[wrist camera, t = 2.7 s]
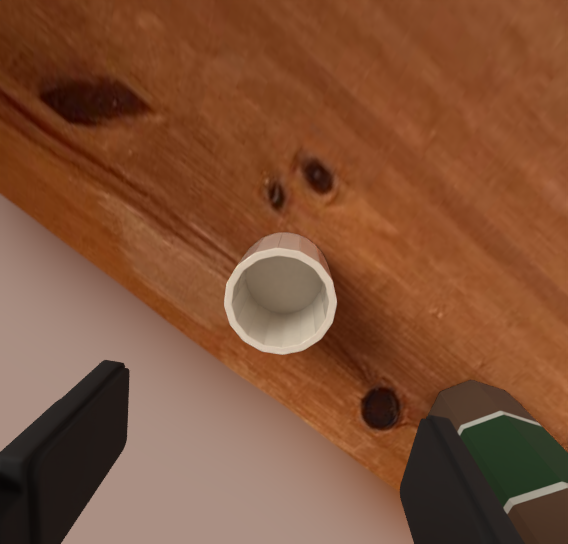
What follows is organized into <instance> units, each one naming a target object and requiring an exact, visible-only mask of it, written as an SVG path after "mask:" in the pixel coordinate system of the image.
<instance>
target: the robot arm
mask: <svg viewBox="0 0 568 544" xmlns="http://www.w3.org/2000/svg"><path fill="white" fill-rule="evenodd" d="M128 397H129V369H128V368H125V365H124V363H121V362H115V361H109V360H104V361H102V362H101V363H100V364H99V365H98V366H97V367H96V368H95V369H94V370H92V372H90V373H89V374H88V375H87V376H86V377H85V378H83V379H82V380H81V381H80V382H79V383H78V384H77V385H76V386H75V387H74V388H72V389H71V390H70V391H69V392H68V393H67V394H66V395H65V396H64V397H63V398H62V399H60V400H58V401H57V402H55V403H54V404H53V405H52V406H51V407H50V408H49V409H48V410H46V411H45V412H44V413H43V414H42V415H41V416H40V417H39V418H38V419H37V420H35V421H34V422H33V423H32V424H31V425H30V426H29V427H28V428H27V429H25V430H24V431H23V432H22V433H21V434H20V435H19V436H18V437H16V438H15V439H14V440H13V441H12V442H11V443H10V444H9V445H8V446H6V448H4V449H3V450H2V451H1V452H0V544H61V542H62V541H63V539H64V538H65V536H66V535H67V533H68V532H69V530H70V529H71V527H72V526H73V524H74V523H75V521H76V520H77V518H78V517H79V515H80V514H81V512H82V511H83V509H84V508H85V506H86V505H87V503H88V502H89V500H90V499H91V497H92V496H93V494H94V493H95V491H96V490H97V488H98V487H99V485H100V484H101V482H102V481H103V479H104V478H105V476H106V475H107V473H108V472H109V470H110V469H111V467H112V466H113V464H114V463H115V461H116V460H117V458H118V457H119V455H120V454H121V452H122V451H123V449H124V447H125V444H126V440H127V423H128ZM400 498H401V501H402V505H403V508H404V511H405V515H406V518H407V521H408V525H409V528H410V531H411V535H412V538H413V541H414V544H525V543H524V541H523V540H522V538H521V536H520V535H519V533H518V531H517V530H516V528H515V526H514V525H513V523H512V521H511V520H510V518H509V516H508V515H507V513H506V512H505V510H504V508H503V507H502V505H501V503H500V502H499V500H498V498H497V497H496V495H495V493H494V492H493V490H492V488H491V487H490V485H489V483H488V482H487V480H486V478H485V477H484V475H483V473H482V472H481V470H480V469H479V467H478V465H477V464H476V462H475V460H474V459H473V457H472V455H471V454H470V452H469V450H468V449H467V447H466V445H465V444H464V442H463V440H462V439H461V437H460V435H459V434H458V432H457V430H456V429H455V427H454V426H453V424H452V422H451V421H450V419H449V418H446V417H440V416H434V415H428V416H427V417H426V419H421V421H420V424H419V427H418V430H417V433H416V437H415V440H414V443H413V446H412V450H411V453H410V456H409V459H408V463H407V466H406V469H405V472H404V475H403V479H402V482H401V486H400Z"/></svg>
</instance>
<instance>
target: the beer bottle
mask: <svg viewBox="0 0 568 544" xmlns="http://www.w3.org/2000/svg"><path fill="white" fill-rule="evenodd" d="M428 415H434V416H440V417H446V418H449V419H450V421H451V422H452V424H453V426H454V427H455V429H456V430H457V432H458V434H459V435H460V437H461V439H462V440H463V442H464V444H465V445H466V447H467V449H468V450H469V452H470V454H471V455H472V457H473V459H474V460H475V462H476V464H477V465H478V467H479V469H480V470H481V472H482V473H483V475H484V477H485V478H486V480H487V482H488V483H489V485H490V487H491V488H492V490H493V492H494V493H495V495H496V497H497V498H498V500H499V502H500V503H501V505H502V507H503V508H504V510H505V512H506V513H507V515H508V516H509V518H510V520H511V521H512V523H513V525H514V526H515V528H516V530H517V531H518V533H519V535H520V536H521V538H522V540H523V541H524V543H525V544H568V453H567V452H566V451H565V450H564V448H563V447H562V446H561V445H560V444H559V443H558V442H557V441H556V440H555V439H554V438H553V437H552V436H551V435H550V434H549V433H548V432H547V431H546V430H545V429H544V428H543V427H542V426H541V425H540V424H539V423H538V422H537V421H536V420H535V419H534V418H533V417H532V416H531V415H530V414H529V413H528V412H527V411H526V410H525V409H524V408H523V406H522V405H521V404H520V403H519V402H517V401H516V400H515V399H514V398H513V397H512V396H511V395H510V394H508V393H507V392H506V391H505V390H502V389H499V388H496V387H493V386H489V385H486V384H483V383H480V382H477V381H474V380H469V381H466V382H464V383H461V384H459V385H456V386H454V387H451V388H448V389H446V390H443V391H441V392H440V393H439V395H438V397H437V399H436V401H435V403H434V404H433V406H432V408H431V410H430V412H429V414H428Z"/></svg>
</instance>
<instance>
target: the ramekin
mask: <svg viewBox="0 0 568 544" xmlns="http://www.w3.org/2000/svg"><path fill="white" fill-rule="evenodd" d="M336 306H337V298H336V294H335V289H334V284H333V280H332V277H331V274H330V271H329V268H328V265H327V262H326V259H325V258H324V256H323V254H322V253H321V251H320V250H319V249H318V247H317V246H316V245H315V244H314V243H312V242H311V241H310V240H308V239H306V238H305V237H303V236H300V235H297V234H293V233H275V234H271V235H268V236H266V237H264V238H262V239H260V240H259V241H258V242H256V243H255V244H254V245H253V246H252V247H250V249H249V250H248V251H247V253H246V254H245V255H244V257H243V258H242V260H241V261H240V262H239V264H238V265H237V267H236V268H235V270H234V272H233V273H232V275H231V277H230V278H229V280H228V282H227V284H226V291H225V299H224V307H225V310H226V313H227V317H228V320H229V323H230V325H231V327H232V328H233V329H234V330H235V331H236V333H237V334H238V335H239V336H240V338H241V339H242V340H244V342H246V343H248V344H250V345H251V346H253V347H255V348H257V349H258V350H260V351H263V352H269V353H275V354H281V355H282V354H283V355H284V354H289V353H294V352H299V351H303V350H305V349H307V348H308V347H310V346H311V345H313V344H314V343H316V342H318V341H319V340H320V339H322V337H323V336H324V334H325V333H326V332H327V330H328V329H329V327H330V326H331V325H332V323H333V320H334V315H335V311H336Z"/></svg>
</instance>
